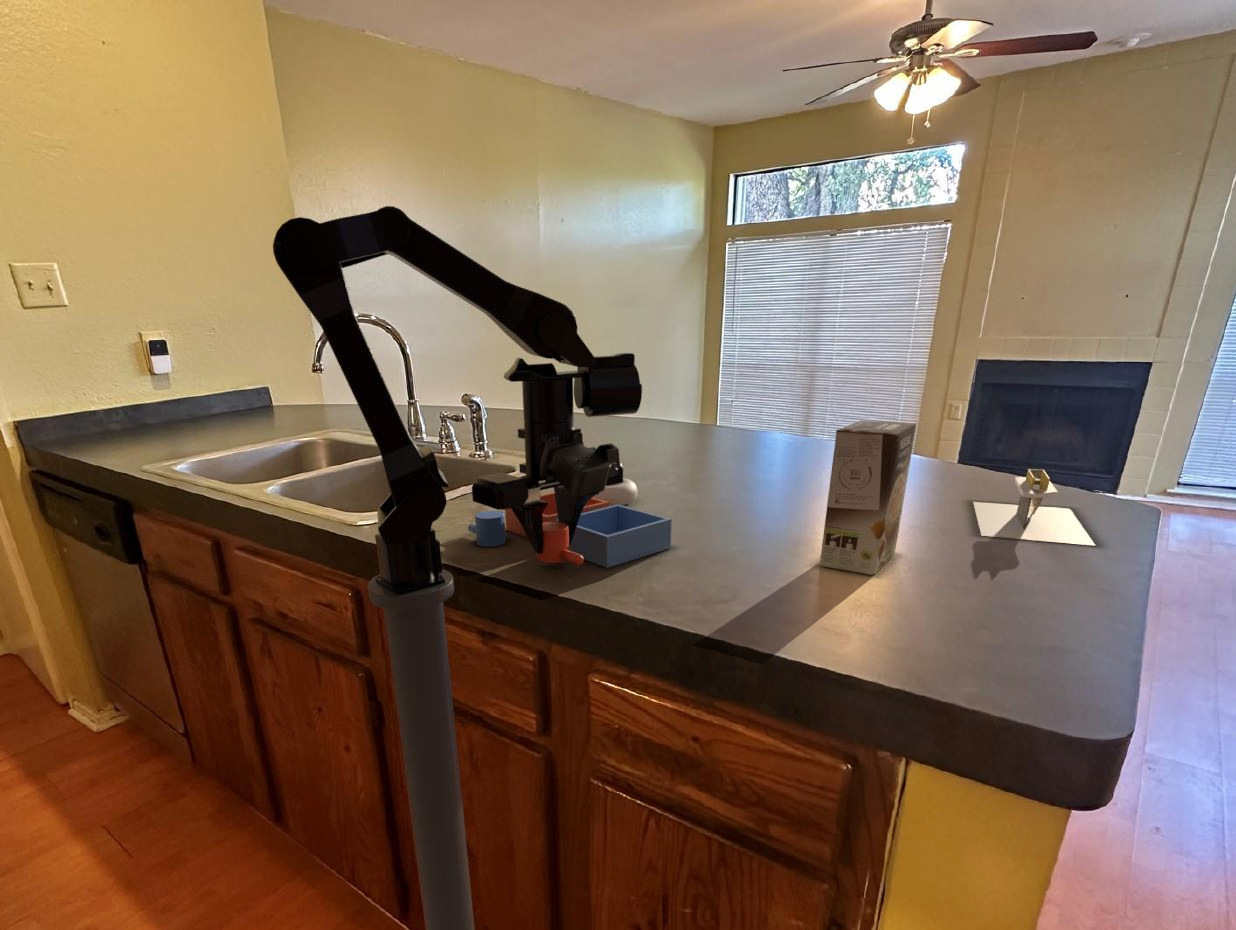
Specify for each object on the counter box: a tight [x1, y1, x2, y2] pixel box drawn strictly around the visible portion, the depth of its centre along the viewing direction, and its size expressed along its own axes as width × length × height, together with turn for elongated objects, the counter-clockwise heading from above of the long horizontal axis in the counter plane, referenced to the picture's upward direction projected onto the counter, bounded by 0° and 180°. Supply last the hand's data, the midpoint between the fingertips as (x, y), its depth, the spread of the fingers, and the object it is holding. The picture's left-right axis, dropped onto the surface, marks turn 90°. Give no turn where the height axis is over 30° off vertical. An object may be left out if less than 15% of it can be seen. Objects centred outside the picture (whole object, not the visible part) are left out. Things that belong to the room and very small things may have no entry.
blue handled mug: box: [467, 510, 507, 548], centre depth 97 cm, size 8×4×4 cm, turn 36°
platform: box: [972, 468, 1097, 546], centre depth 94 cm, size 12×18×7 cm, turn 152°
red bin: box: [504, 491, 609, 539], centre depth 100 cm, size 11×10×4 cm
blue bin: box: [556, 505, 673, 569], centre depth 91 cm, size 11×10×4 cm
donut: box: [593, 477, 639, 507], centre depth 113 cm, size 10×4×10 cm
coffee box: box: [819, 420, 917, 576], centre depth 81 cm, size 9×6×16 cm
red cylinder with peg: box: [536, 522, 585, 566], centre depth 83 cm, size 8×4×4 cm, turn 36°
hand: (552, 549), depth 85 cm, fingers closed on red cylinder with peg, 4 cm apart
